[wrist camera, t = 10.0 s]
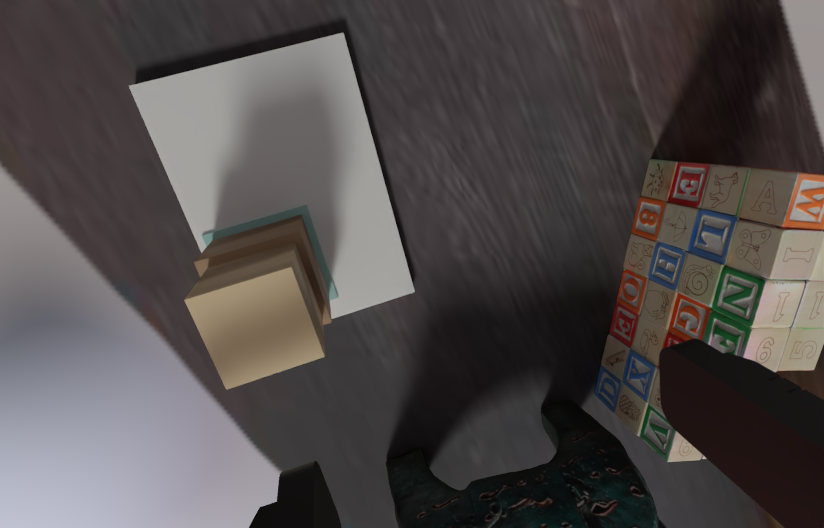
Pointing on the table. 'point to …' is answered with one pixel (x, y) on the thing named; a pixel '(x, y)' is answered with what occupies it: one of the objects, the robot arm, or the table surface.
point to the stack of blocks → (714, 282)
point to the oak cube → (258, 315)
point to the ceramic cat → (534, 486)
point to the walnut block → (268, 239)
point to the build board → (282, 161)
